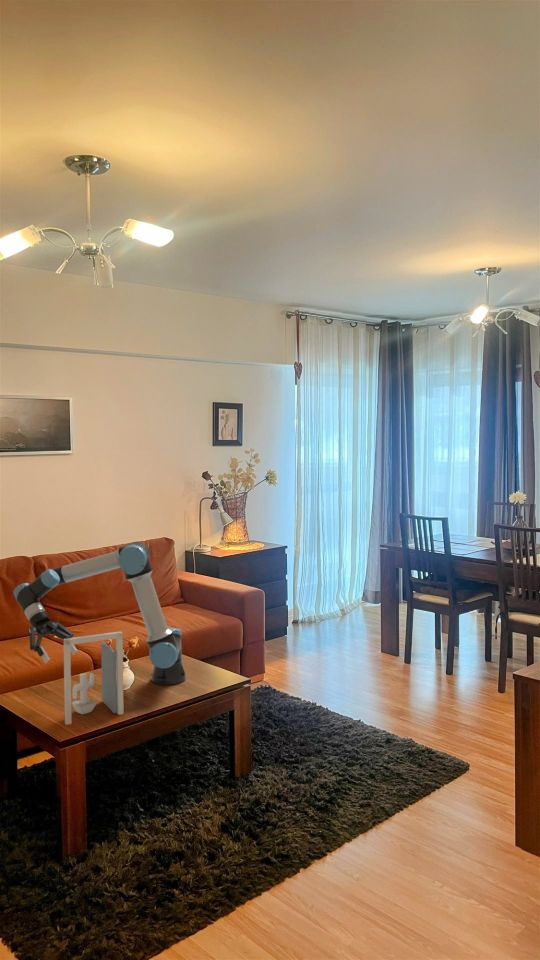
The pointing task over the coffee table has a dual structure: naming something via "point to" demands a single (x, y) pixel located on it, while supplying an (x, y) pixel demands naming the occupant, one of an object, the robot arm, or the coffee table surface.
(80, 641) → the door frame
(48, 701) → the coffee table surface
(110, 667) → the door
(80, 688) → the figurine
